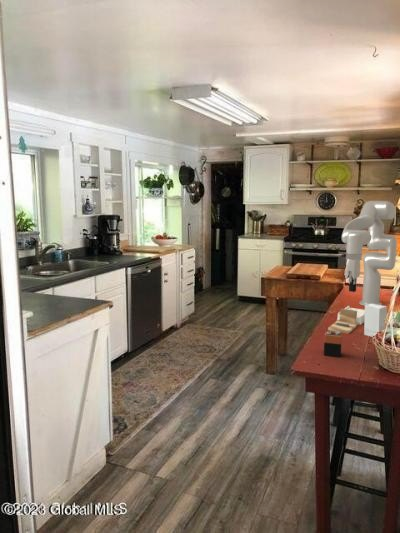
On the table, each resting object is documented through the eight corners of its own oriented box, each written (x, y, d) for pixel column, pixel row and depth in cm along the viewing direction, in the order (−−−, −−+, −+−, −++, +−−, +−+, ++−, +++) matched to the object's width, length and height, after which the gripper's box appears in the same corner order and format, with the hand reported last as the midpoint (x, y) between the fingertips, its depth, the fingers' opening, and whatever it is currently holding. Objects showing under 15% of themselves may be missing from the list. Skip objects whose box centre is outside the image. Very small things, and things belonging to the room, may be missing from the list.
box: (348, 313, 242) (348, 305, 241) (370, 316, 235) (370, 309, 234) (337, 321, 227) (337, 313, 226) (360, 325, 220) (361, 316, 220)
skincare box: (386, 337, 202) (388, 306, 200) (378, 339, 199) (380, 308, 196) (370, 332, 209) (372, 302, 207) (362, 334, 206) (364, 304, 203)
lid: (338, 322, 227) (339, 308, 225) (358, 325, 221) (359, 311, 220) (327, 330, 213) (328, 315, 212) (348, 334, 207) (349, 319, 206)
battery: (340, 357, 178) (341, 334, 176) (323, 355, 180) (324, 332, 178) (340, 353, 182) (342, 331, 180) (324, 351, 184) (325, 329, 182)
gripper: (351, 253, 228) (349, 287, 232) (341, 258, 216) (340, 293, 220) (365, 254, 223) (364, 288, 227) (357, 259, 212) (355, 295, 215)
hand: (352, 291), depth 223 cm, fingers closed
